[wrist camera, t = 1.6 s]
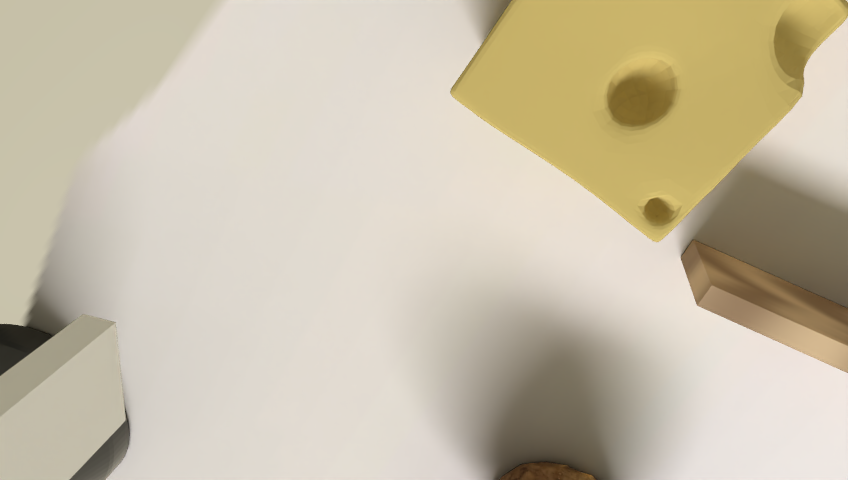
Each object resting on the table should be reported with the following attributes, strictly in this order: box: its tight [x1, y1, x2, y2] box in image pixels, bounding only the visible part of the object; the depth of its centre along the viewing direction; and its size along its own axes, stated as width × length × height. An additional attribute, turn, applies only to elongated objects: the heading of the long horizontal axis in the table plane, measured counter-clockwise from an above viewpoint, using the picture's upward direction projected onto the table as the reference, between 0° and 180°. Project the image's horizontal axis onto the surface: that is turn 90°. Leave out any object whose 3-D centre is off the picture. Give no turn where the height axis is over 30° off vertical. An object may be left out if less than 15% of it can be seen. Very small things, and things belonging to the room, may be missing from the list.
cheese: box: [450, 0, 848, 242], centre depth 25 cm, size 10×11×10 cm
